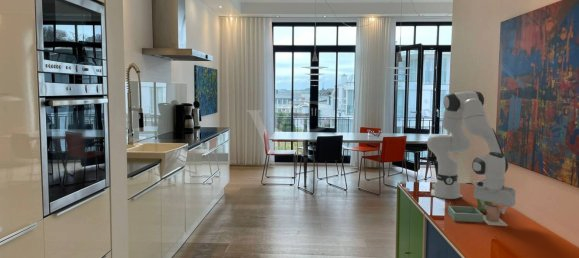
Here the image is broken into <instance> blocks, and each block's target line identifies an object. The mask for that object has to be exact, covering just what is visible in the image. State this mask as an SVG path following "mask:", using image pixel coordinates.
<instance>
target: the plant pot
mask: <svg viewBox="0 0 579 258" xmlns="http://www.w3.org/2000/svg"><path fill="white" fill-rule="evenodd" d="M476 201H477V203H476V204H477V209H478V210H479V211H480V212H481V213H487V209H482V204H481V202H480V200H479V199H476ZM484 203H485V205H488V204H493V203H492V202H488V201H485V202H484Z"/></svg>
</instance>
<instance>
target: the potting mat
mask: <svg viewBox="0 0 579 258" xmlns="http://www.w3.org/2000/svg"><path fill="white" fill-rule="evenodd" d="M483 222H485V223H486V224H487V225H488V226H499V227H502V226H503V227H509V225H508V224H507V223H506V222H505V221H503V220H502V219H501V218H500V217H499V222H491V221H488V220H486V215H485V214H483Z"/></svg>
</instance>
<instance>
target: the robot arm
mask: <svg viewBox="0 0 579 258" xmlns="http://www.w3.org/2000/svg"><path fill="white" fill-rule="evenodd" d="M484 104H485V97H484V95H483V93H481V91H477V90H475V91H459V92H450V93H447V94H446V95H445V96H444V98H443V107H444V113H443V119H442V128H443V129H445V131H447V132H449V134H433V135H430V136H429V137H428V138H427V141H426V142H427V143H426V146H427V148H428V149H429V151H431V152H432V153H433V154H434V156H435V157H436V159H437V174H436V180H435V182H434V183H432V185H431V187H432V189H431V191H430V196H431V197H436V198H439V199H447V200H456V199H459V198H463V195H462V194H461V190H460V189H461V185H460V183H459V182H458V180H459V179H458V178H459V177H458V162H457V160H456V159H454V158H453V157H450V156H449V153H464V152H468V151H469V150H470V147H471V145H472V144H471V139H470V138H469V136H468V135H466V134H465V133H464V131H463V122H464V127H465V129H466V131H467V132H468V133H470V134H471V135H473V136H476V137H479V138H481V139H482V140H484V141H485V142H486V143H487V146H488V149H489V152H488V153H487V154H486V155H483V156H477V157H475V158H473V161H472V165H471V167H472V170H473V172H474V173H475V174H476V175H479V176H485V179H482V180H481V179H480V180H477V181H475V187H474V188H473V189H474V190H473V198H474V199H475V200H477V199H479V200H480V202H481V204H482V209H487V205H485V203H484V202H485V201H488V202H492V204H495V205H501V206H502V209H501V208H500V214H503V215H504V214H505V213H506V209H507V208H508V207H509V208H511V207H514V206H515V205H516V190H515V189H514V188H513V187H509V186H505V182H506V181H505V180H506V178H505V173H507V172H508V169H509V162H508V160H507V158H506V155H504V152H503V150H502V146H501V143H500V141H499V138H498V135H497V132H496V130H495V129H494V128H493V127H492V126H491V125H490V124H489V121H488V120H487V116H486V112H485V109H484Z"/></svg>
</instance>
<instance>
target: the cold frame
mask: <svg viewBox="0 0 579 258" xmlns="http://www.w3.org/2000/svg"><path fill="white" fill-rule="evenodd" d="M447 214H448V215H449V216H450V218H451V219H452V221H454V222H466V223H467V222H469V223H470V222H471V223H483V222H484V220H483V215H484V214H483V212H482V211H479V210H478V207H476V206H466V205H465V206H464V205H463V206H461V205H459V206H458V205H447Z"/></svg>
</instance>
